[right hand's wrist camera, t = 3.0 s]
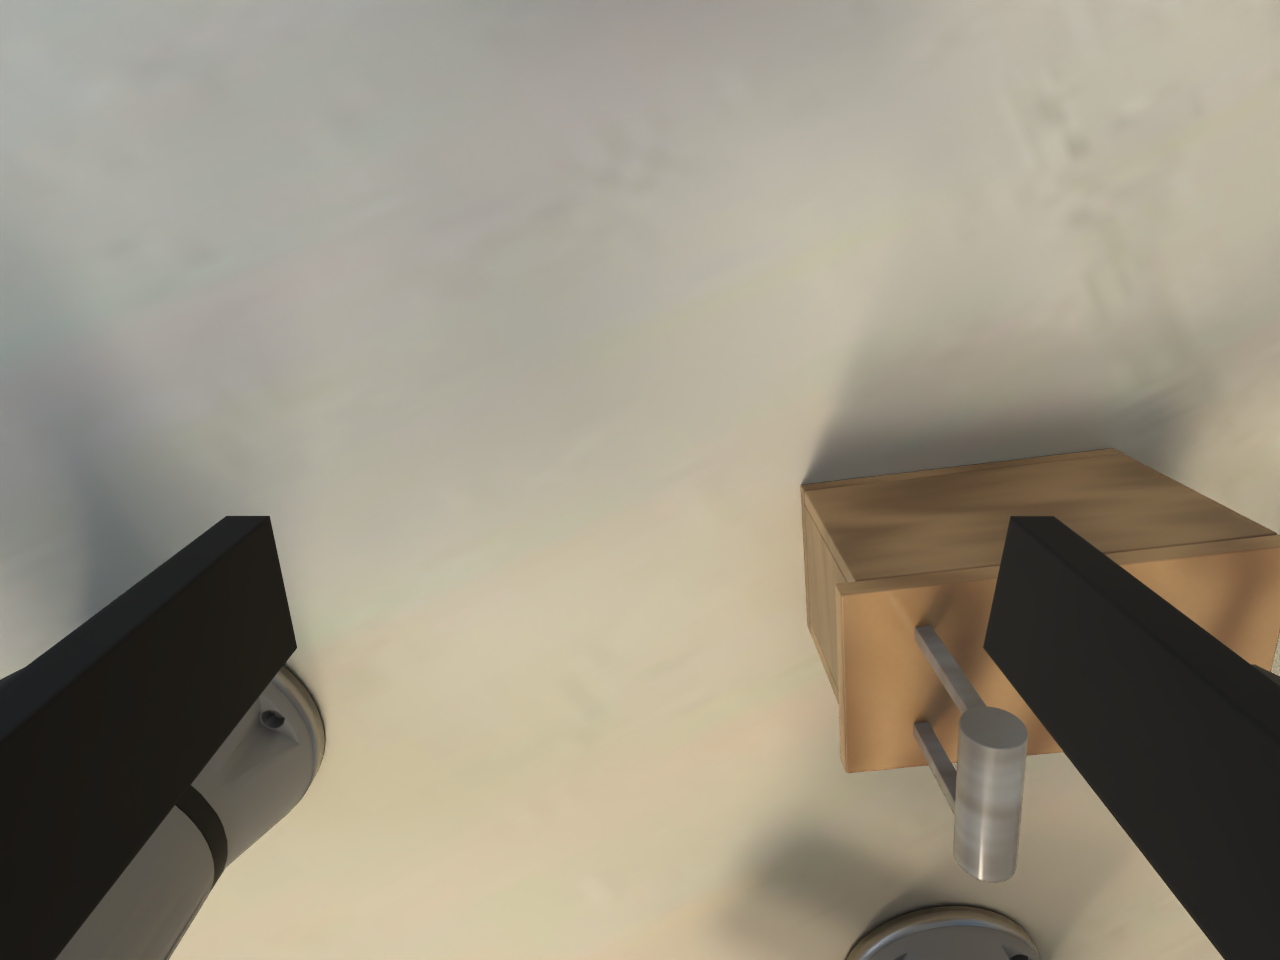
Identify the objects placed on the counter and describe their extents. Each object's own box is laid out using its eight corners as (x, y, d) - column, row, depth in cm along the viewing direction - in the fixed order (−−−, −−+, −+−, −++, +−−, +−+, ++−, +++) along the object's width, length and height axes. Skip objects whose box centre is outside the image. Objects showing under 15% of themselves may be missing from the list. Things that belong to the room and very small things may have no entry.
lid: (840, 757, 34) (900, 926, 26) (834, 583, 30) (902, 715, 22) (1239, 718, 33) (1426, 879, 25) (1280, 533, 29) (1513, 653, 22)
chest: (807, 626, 44) (858, 755, 34) (800, 484, 41) (855, 580, 30) (1095, 595, 43) (1238, 717, 33) (1113, 447, 40) (1279, 533, 29)
